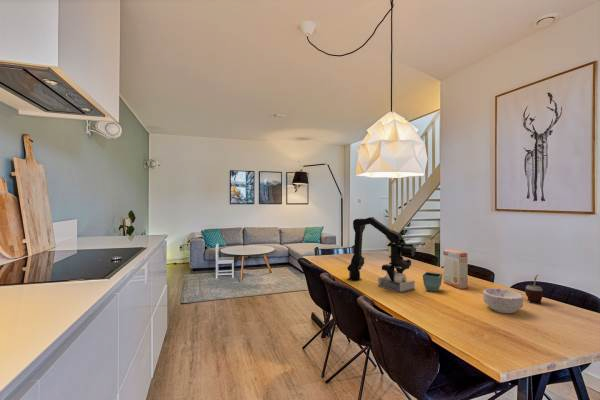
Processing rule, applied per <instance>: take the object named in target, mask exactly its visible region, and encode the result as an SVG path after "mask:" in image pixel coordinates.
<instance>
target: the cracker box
mask: <svg viewBox="0 0 600 400" xmlns="http://www.w3.org/2000/svg"><path fill="white" fill-rule="evenodd" d="M442 253H443V283H444V284H446V285H448V286H451V287H453V288H456V289H459V290H464V289H466V290H467V289H468V283H469V282H468V275H469V274H468V270H469V269H468V253H467V252H465V251H459V250H456V249H455V250H454V249H451V248H450V249H443V252H442Z"/></svg>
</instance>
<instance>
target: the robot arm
mask: <svg viewBox="0 0 600 400" xmlns="http://www.w3.org/2000/svg"><path fill="white" fill-rule="evenodd" d="M367 225H370V226H372V227H373V228H375V229H376V230H378V231H379V232H380V233H382V234H383V235H384V236H385V237H386V239H388V241H389V243H388V244H387V245H386V246H387V247H390V255H388V256H389V258H390V262H388V264H382V266H381V270H382V271H385V272H386V273H388V275H389V277H390V279H391V281H392V282H394V273H395V272H397V273H401V274H404V272H405V271H406V270H409V269H410V267H411V266H412V260H411V259H404V257H403V256H406V257H414V256H415V254H416V249H415V246H414V244H413V243H406V241H405V239H404V238H403V235H402V234H401V233H400V232H398V231H396V230H393V229H390V228H388V227H387V226H386V225H385V224H383V223H382V222H380V221H379V220H377V219H376V218H375V217H374V216H373V217H370V216H369V217H367V218H355V219H354V220H353V221H352V227H353V228H352V229H353V231H354V245H353V247H354V248H353V256H352V257H351V261H350V264H349V265H348V266H347V267H346V269H347V271H349V274H348V275H349V277H348V278H347V280H350V281H352V282H358V281H362V278H361V272H360V270H362V268H363V266H364V265H365V257H364V256H362V255H363V254H362V249H363V248H362V247H363V233H364V230H365V229H366V226H367Z"/></svg>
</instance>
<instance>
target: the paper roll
mask: <svg viewBox="0 0 600 400" xmlns="http://www.w3.org/2000/svg"><path fill="white" fill-rule="evenodd" d="M385 276H386V279H387V281H391V279H390V277H389V275H388V273H387V272H386V273H385ZM407 278H408V277H407V274H405V273H403V274H401V273H397V271H396V272H395V273H394V283H398V284H400V283H404V282H407ZM391 282H392V281H391Z"/></svg>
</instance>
